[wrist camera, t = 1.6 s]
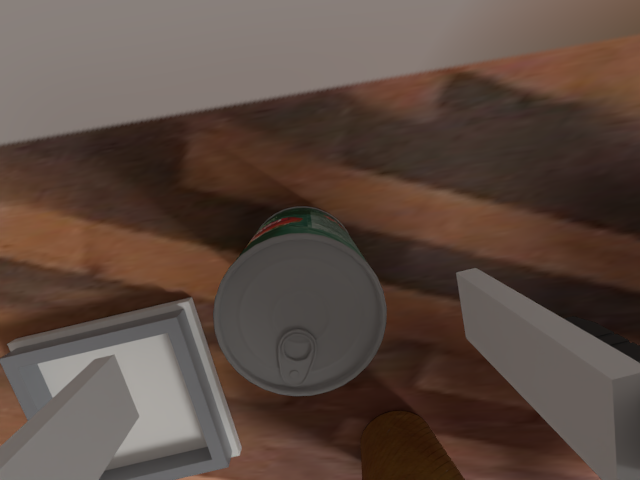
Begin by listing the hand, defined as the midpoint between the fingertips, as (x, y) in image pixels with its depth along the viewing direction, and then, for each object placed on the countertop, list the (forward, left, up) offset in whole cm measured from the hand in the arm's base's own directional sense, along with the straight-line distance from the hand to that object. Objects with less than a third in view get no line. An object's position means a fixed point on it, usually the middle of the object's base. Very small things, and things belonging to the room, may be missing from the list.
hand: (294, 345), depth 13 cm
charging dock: (+16, +8, -14) cm, 22 cm away
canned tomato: (0, 0, -14) cm, 14 cm away
